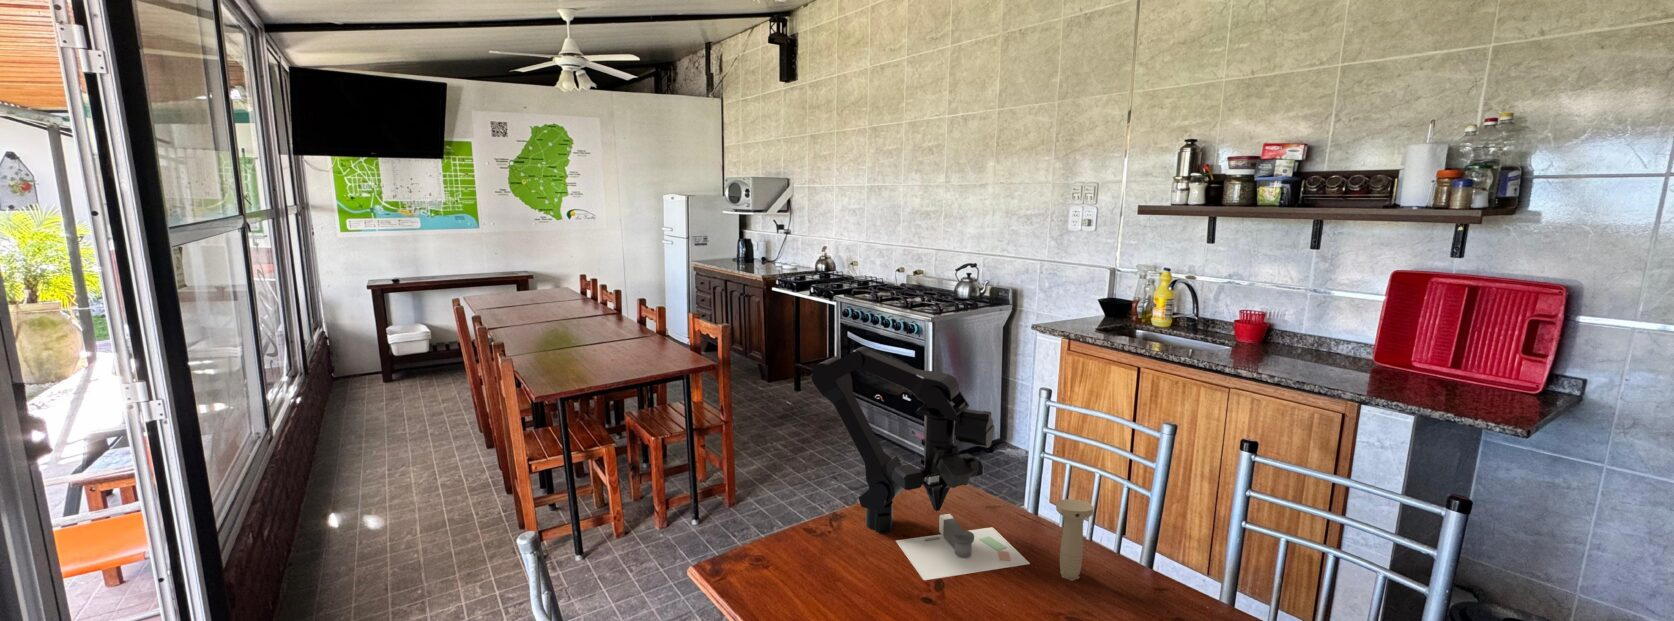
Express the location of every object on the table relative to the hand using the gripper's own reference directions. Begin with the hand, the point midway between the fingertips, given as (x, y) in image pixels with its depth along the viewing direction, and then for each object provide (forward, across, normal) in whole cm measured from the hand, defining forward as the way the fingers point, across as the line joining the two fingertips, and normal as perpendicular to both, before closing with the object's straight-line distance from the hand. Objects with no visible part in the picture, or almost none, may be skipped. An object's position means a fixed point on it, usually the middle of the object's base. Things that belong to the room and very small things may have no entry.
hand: (936, 510), depth 141 cm
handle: (+7, +15, -22) cm, 28 cm away
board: (+7, +2, -7) cm, 10 cm away
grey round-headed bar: (+6, +2, -4) cm, 7 cm away
